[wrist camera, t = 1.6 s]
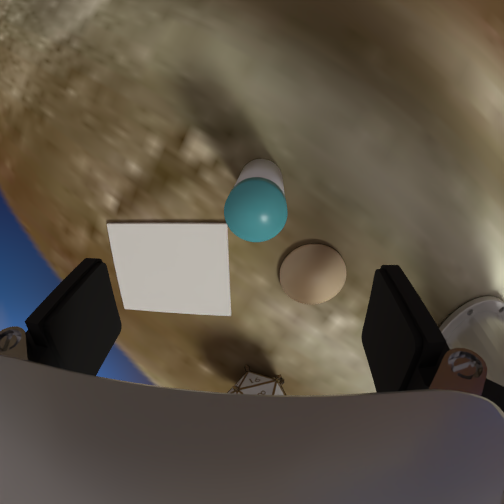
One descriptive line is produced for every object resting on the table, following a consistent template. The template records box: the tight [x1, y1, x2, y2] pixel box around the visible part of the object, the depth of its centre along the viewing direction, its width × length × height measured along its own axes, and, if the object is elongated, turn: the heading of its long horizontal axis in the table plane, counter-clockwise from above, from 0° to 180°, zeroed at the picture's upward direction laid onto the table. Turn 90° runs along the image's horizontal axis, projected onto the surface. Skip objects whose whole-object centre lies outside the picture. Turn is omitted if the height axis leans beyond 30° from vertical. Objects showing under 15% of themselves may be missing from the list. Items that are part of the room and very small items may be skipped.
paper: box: [107, 223, 231, 316], centre depth 31 cm, size 12×10×1 cm
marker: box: [224, 159, 287, 242], centre depth 23 cm, size 4×4×9 cm
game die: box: [227, 365, 286, 395], centre depth 34 cm, size 9×8×10 cm
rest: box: [280, 244, 346, 304], centre depth 30 cm, size 6×6×1 cm
